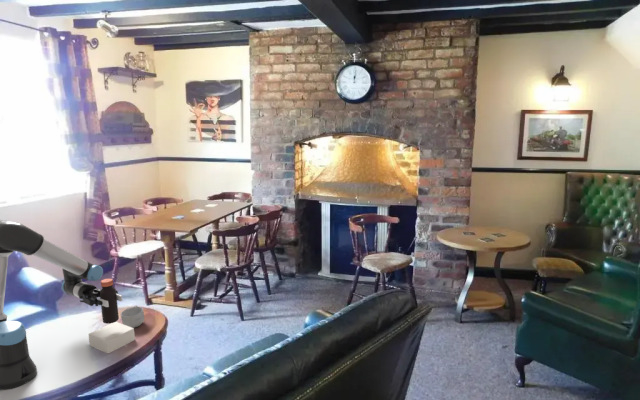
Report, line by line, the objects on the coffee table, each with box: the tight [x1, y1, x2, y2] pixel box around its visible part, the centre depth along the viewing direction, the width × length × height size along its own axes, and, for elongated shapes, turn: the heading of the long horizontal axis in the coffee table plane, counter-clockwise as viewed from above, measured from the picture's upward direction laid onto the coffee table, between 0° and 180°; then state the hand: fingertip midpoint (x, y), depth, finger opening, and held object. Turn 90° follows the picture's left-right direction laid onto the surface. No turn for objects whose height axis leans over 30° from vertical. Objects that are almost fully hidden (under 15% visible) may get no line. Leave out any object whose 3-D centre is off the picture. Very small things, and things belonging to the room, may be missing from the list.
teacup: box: [119, 305, 145, 329], centre depth 222 cm, size 14×11×8 cm
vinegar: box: [99, 278, 120, 325], centre depth 200 cm, size 7×7×20 cm
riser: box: [88, 321, 136, 354], centre depth 203 cm, size 14×14×6 cm
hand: (114, 301), depth 197 cm, fingers closed on vinegar, 6 cm apart
